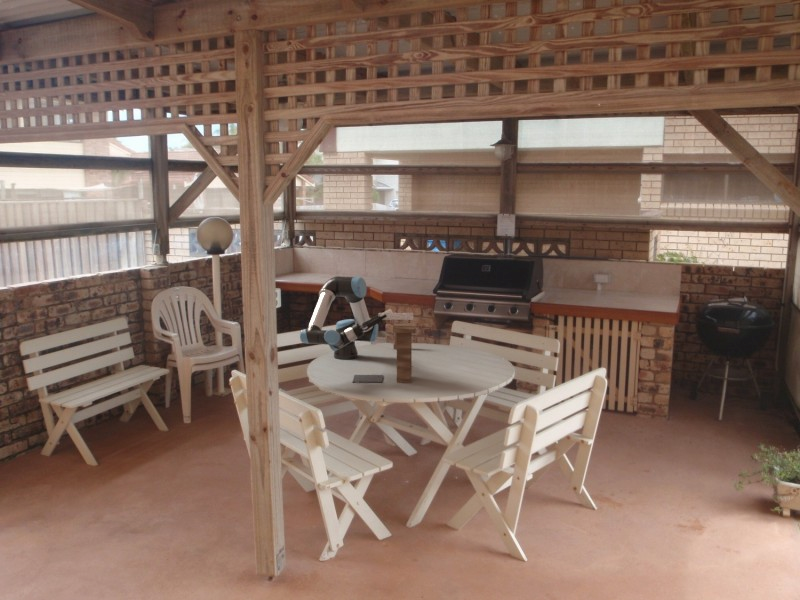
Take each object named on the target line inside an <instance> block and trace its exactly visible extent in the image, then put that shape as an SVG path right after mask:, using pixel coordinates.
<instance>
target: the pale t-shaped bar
mask: <svg viewBox="0 0 800 600" xmlns="http://www.w3.org/2000/svg"><path fill="white" fill-rule="evenodd" d="M382 314H384V313H383V312H378V314H377V315H378V317H380V315H382ZM386 320H387V321H388V320H389V321H390V320H391V321H398V320H399V321H401V320H402V321H403V320H404V321H405V320H406V321H407V320H409V321H414V312H393V315H391V316H389V317H387V318H386V319H384V321H386Z"/></svg>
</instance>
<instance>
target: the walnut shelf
mask: <svg viewBox="0 0 800 600" xmlns="http://www.w3.org/2000/svg"><path fill="white" fill-rule="evenodd" d="M392 333H393V334H394V333H397V349H396V383H412V372H413V370H412V367H413V366H412V363H413V362H412V358H413V357H412V355H413V354H412V348H413V347H412V346H413V345H412V337H413V336H412V334H413V333H415V334H416V323H415V322H413V323H411V322H409V323H408V322H403V323H402V322H400V323H394V322H393V326H392Z"/></svg>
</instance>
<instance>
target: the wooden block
mask: <svg viewBox="0 0 800 600" xmlns="http://www.w3.org/2000/svg"><path fill="white" fill-rule="evenodd" d="M394 323H401V321H398V320H394V321H393V324H394ZM393 350H397V333H393Z"/></svg>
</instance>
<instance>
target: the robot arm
mask: <svg viewBox="0 0 800 600" xmlns="http://www.w3.org/2000/svg"><path fill="white" fill-rule="evenodd" d="M367 290H368V289H367V283H366V281H365V279H364V278H363V277H361V276H360V277H359V276H340V275H337V276H333V277H331V278H330V279H328V280H327V281H325V283H323V285H322V286H321V287H320V289H319V292H318V300H317V302H316V304H315V307H314V309H313V312H312V315H311V318H310V321H309V322H308V326H307V328H304V329H301V331H300V333H299V339H300V342H301V343H303V344H309V345H310V344H315V345H325V346H326V345H328V346H329V348H330V349H331V350H332V351H333V358H334V357H335V358H334V359H337V358H339V359H338V360H352V359H351V358H353V359H356V358H358V357H357V356H359V353H358V349H357V346H356V342H367V343H370V342H371V343H373V342H376V341H377V339H378V335H379V324H380V323H383V322H384V321H385V320H384V319H386V318H387V317H389V316H391V315H393V313H394V311H393V310H392V309H391V308H389V309H387V310H385V311H384V312H382V313H384V314H382V315H380V317H378V314H377V315H375V316H374V317H370V315H369V311H368V307H367V305H366V302H365V299H364V298H365V297H366V295H367ZM336 297H341V298H342V297H343V298H345V300H346V302H347V303H349V306H350V308H351V311H352V313H353V317H354V318H353V319H352V318H351V319H350V318H349V319H343V320H339V321H337V322H336V323H335V325H336V326H335V329H328V330H327V329H326V330H324V329H323V326H324V324H325V322H326V318H327V316H328V314H329V311H330V307H331V304H332V303H333V301H335V299H336ZM383 320H384V321H383ZM355 357H356V358H355Z"/></svg>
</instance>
